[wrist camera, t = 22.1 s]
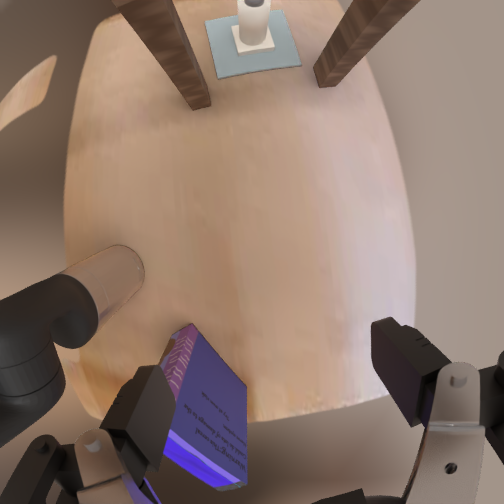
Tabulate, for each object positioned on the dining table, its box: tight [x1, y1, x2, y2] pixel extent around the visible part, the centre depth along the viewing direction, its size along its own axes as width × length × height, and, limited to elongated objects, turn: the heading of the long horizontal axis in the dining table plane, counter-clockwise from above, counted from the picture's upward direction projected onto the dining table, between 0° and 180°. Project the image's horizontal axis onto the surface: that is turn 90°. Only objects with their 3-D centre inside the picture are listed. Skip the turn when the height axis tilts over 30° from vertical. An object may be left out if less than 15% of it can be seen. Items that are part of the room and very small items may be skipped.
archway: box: [111, 0, 420, 110], centre depth 23 cm, size 24×4×33 cm, turn 102°
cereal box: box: [158, 323, 247, 491], centre depth 39 cm, size 17×5×24 cm, turn 33°
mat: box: [205, 10, 302, 79], centre depth 37 cm, size 14×13×1 cm
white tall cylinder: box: [231, 0, 275, 56], centre depth 30 cm, size 6×6×14 cm
